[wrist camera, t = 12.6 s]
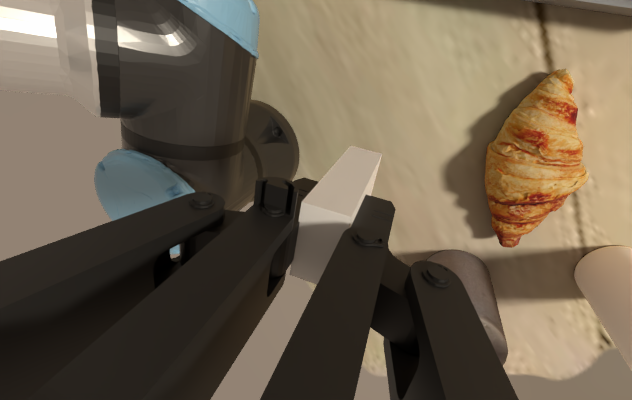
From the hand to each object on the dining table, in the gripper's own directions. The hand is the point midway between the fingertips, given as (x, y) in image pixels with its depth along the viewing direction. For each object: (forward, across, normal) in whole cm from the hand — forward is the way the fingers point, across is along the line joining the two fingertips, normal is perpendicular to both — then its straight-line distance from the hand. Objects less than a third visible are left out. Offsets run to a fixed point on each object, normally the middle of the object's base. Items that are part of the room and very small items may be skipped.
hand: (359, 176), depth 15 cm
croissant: (+30, -16, +4) cm, 34 cm away
